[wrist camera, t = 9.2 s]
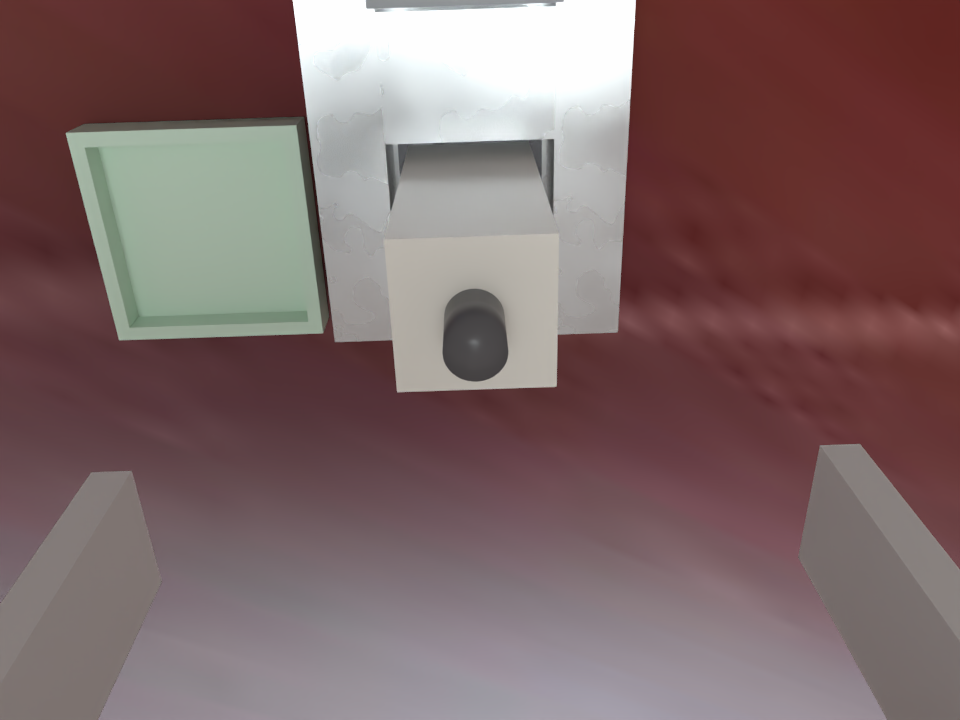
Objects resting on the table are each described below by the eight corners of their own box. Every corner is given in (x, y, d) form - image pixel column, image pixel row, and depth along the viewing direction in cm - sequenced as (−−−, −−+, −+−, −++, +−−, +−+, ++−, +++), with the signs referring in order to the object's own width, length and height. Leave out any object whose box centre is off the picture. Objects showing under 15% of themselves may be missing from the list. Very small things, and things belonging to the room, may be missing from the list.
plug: (408, 145, 34) (375, 269, 21) (528, 141, 34) (568, 263, 21) (416, 258, 36) (391, 433, 23) (528, 255, 36) (565, 427, 23)
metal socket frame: (346, 304, 38) (335, 342, 34) (284, -249, 28) (259, -276, 25) (603, 295, 38) (617, 332, 35) (627, -260, 28) (651, -288, 25)
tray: (133, 323, 38) (119, 340, 37) (84, 123, 34) (65, 132, 32) (328, 316, 38) (323, 333, 37) (304, 116, 34) (296, 125, 33)
